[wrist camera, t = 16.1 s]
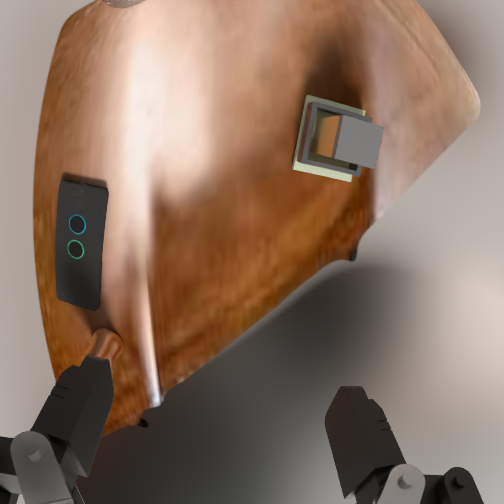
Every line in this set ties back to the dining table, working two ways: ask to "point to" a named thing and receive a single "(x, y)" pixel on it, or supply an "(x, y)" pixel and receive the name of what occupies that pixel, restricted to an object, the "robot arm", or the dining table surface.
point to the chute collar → (307, 134)
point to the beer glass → (103, 347)
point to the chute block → (348, 140)
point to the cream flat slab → (311, 155)
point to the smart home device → (80, 243)
